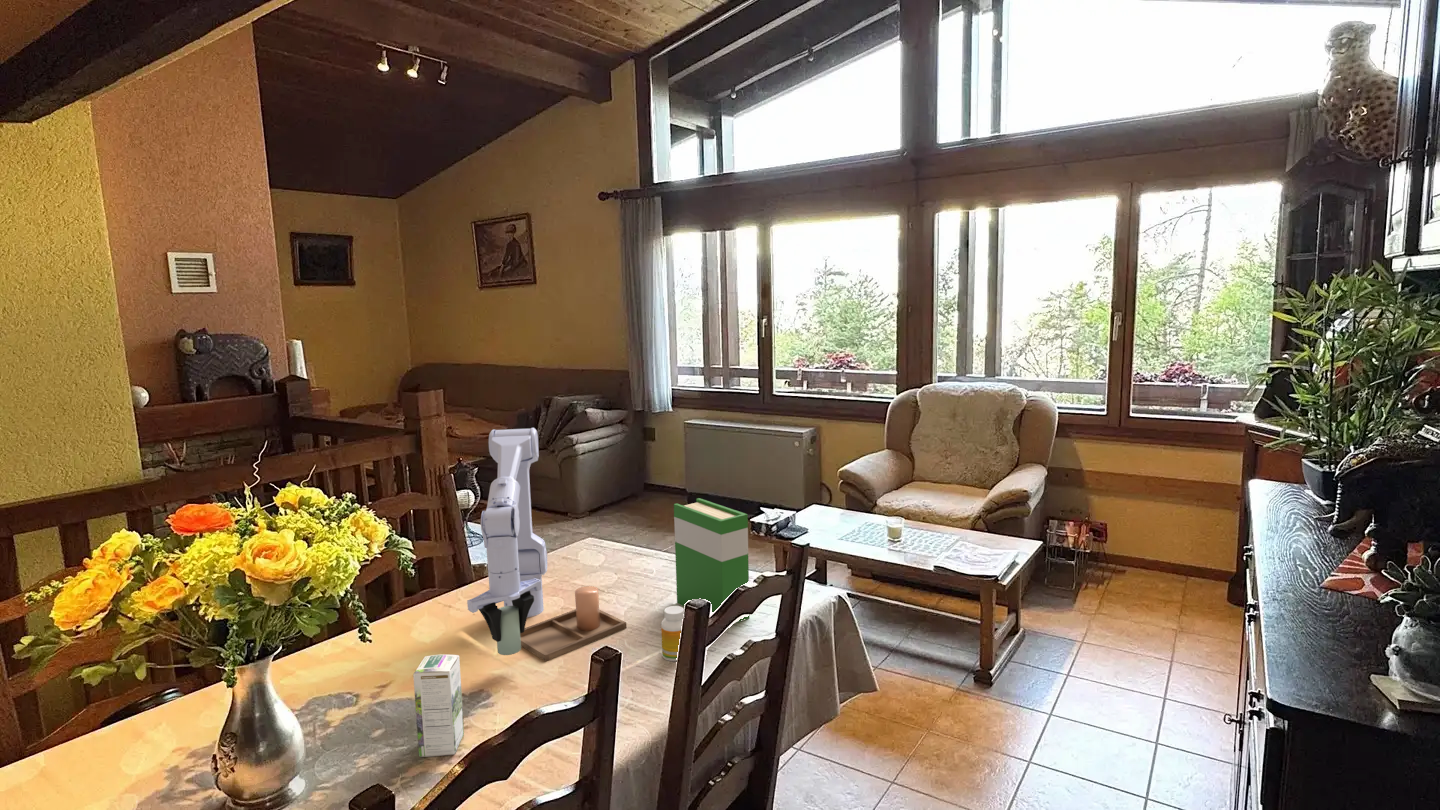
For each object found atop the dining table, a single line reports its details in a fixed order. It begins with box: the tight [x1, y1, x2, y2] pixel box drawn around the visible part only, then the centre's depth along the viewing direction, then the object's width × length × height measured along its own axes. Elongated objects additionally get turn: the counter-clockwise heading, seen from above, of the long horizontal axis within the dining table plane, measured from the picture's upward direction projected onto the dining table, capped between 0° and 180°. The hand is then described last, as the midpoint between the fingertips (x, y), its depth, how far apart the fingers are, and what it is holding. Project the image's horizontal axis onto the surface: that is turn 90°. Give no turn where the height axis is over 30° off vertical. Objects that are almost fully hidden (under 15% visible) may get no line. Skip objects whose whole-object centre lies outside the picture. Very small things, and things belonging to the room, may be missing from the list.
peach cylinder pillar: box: [574, 585, 600, 631], centre depth 161 cm, size 5×5×8 cm
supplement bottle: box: [660, 605, 685, 662], centre depth 148 cm, size 5×5×10 cm
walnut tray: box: [520, 608, 627, 662], centre depth 158 cm, size 14×20×2 cm
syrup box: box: [412, 654, 465, 758], centre depth 119 cm, size 6×6×14 cm
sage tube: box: [496, 606, 522, 656], centre depth 143 cm, size 4×4×8 cm
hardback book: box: [673, 497, 750, 622], centre depth 168 cm, size 18×7×24 cm, turn 38°
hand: (508, 635), depth 143 cm, fingers closed on sage tube, 4 cm apart
